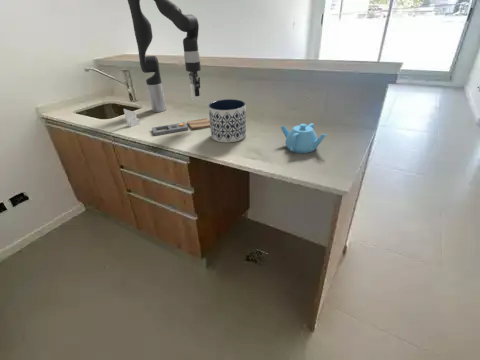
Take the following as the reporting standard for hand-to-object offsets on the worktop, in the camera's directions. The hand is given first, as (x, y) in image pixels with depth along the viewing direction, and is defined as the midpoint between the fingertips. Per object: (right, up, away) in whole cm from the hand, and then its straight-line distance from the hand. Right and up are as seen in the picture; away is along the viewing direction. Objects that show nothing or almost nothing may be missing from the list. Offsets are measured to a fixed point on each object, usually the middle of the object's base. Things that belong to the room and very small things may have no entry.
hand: (196, 94), depth 146 cm
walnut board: (+1, -14, +9) cm, 17 cm away
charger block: (0, -2, +1) cm, 2 cm away
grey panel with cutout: (-15, -18, +4) cm, 24 cm away
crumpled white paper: (-39, -14, +13) cm, 43 cm away
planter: (+18, -23, -6) cm, 30 cm away
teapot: (+52, -31, -21) cm, 64 cm away
